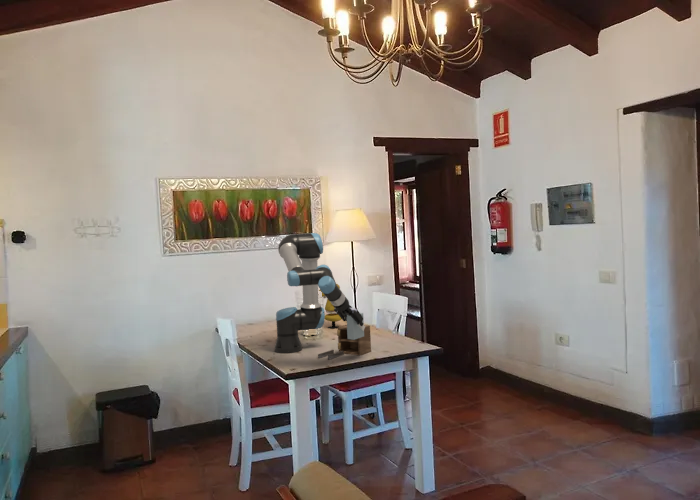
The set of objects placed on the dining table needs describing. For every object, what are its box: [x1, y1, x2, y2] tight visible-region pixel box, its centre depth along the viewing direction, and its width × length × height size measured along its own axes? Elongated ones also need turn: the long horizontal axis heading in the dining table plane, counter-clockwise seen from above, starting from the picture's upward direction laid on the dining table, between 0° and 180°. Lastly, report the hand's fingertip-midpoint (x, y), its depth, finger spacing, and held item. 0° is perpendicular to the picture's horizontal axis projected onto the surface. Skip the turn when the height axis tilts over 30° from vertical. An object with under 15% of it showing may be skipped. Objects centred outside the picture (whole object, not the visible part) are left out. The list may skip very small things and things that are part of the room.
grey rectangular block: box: [346, 312, 365, 340], centre depth 291 cm, size 4×9×12 cm, turn 144°
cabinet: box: [317, 324, 372, 360], centre depth 300 cm, size 17×24×14 cm
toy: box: [318, 283, 342, 330], centre depth 385 cm, size 16×12×30 cm
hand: (359, 328), depth 294 cm, fingers closed on grey rectangular block, 4 cm apart
